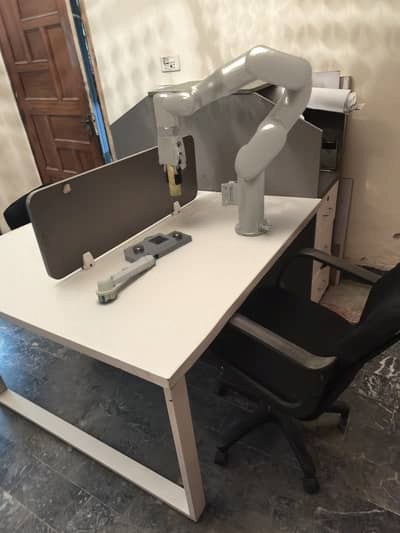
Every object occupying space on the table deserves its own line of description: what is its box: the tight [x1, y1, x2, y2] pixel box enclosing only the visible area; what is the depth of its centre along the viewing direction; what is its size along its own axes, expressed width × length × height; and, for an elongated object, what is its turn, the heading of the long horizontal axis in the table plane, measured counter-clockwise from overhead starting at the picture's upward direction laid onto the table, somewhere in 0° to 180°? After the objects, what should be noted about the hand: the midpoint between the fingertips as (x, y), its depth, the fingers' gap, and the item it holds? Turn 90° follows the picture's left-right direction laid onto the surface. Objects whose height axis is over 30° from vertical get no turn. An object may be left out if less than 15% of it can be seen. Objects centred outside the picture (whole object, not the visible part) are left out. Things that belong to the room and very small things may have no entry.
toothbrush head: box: [95, 255, 157, 302], centre depth 113 cm, size 5×7×25 cm
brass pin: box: [167, 164, 182, 197], centre depth 135 cm, size 4×4×12 cm
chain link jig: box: [123, 230, 193, 264], centre depth 130 cm, size 24×9×5 cm, turn 137°
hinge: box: [220, 180, 238, 207], centre depth 163 cm, size 14×5×10 cm, turn 77°
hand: (174, 182), depth 136 cm, fingers closed on brass pin, 4 cm apart
